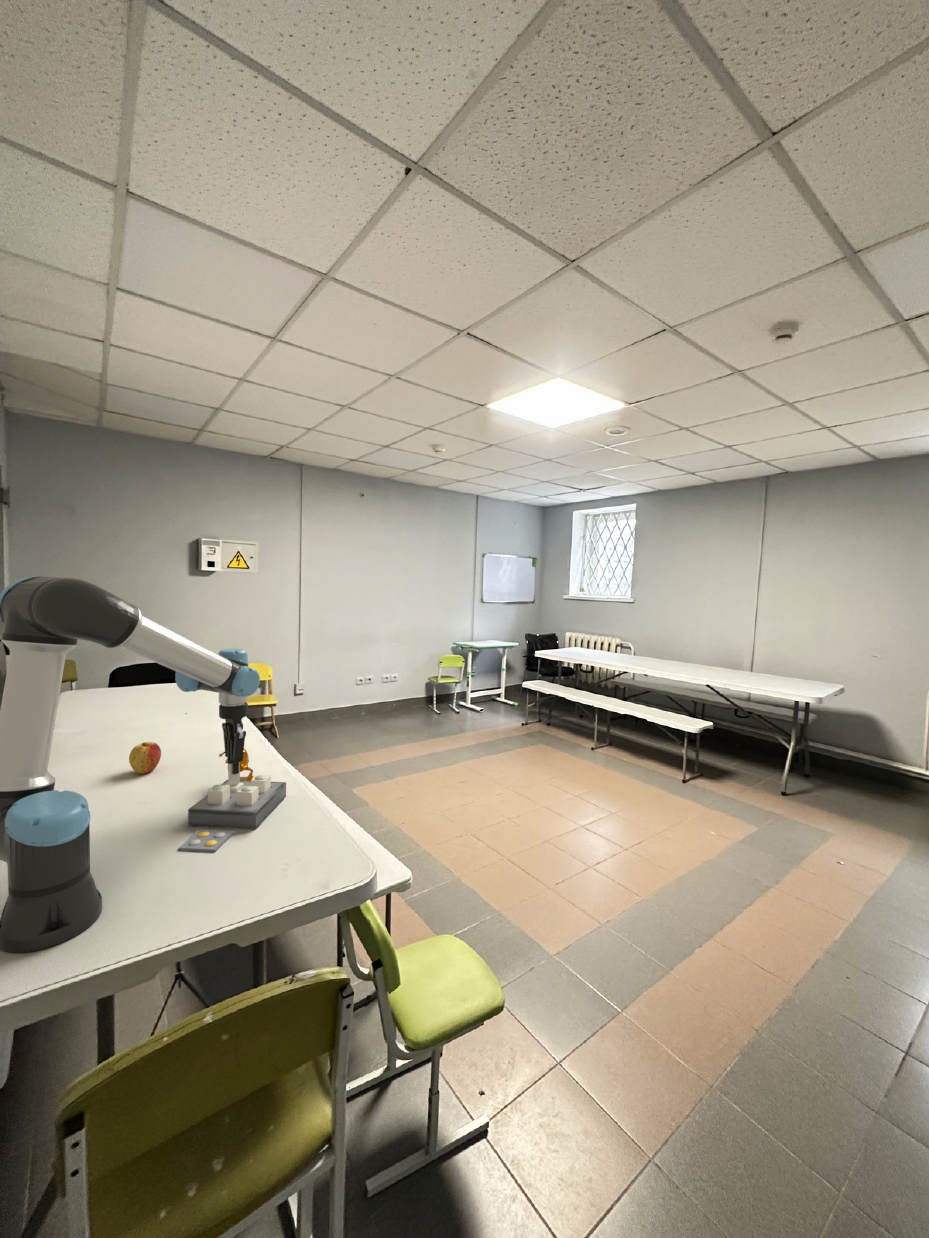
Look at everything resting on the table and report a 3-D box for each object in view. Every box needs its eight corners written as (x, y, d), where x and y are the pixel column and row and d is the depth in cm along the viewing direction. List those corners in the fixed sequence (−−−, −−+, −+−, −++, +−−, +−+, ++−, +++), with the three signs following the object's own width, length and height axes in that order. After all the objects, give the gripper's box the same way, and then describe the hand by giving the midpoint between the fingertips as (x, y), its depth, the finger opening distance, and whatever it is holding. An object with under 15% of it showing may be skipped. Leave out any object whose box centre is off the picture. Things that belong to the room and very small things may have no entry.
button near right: (251, 807, 134) (251, 791, 133) (237, 806, 134) (237, 790, 133) (258, 800, 138) (258, 785, 137) (244, 800, 138) (244, 784, 137)
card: (215, 851, 118) (215, 848, 118) (178, 850, 119) (178, 846, 119) (234, 833, 127) (234, 830, 127) (199, 831, 128) (199, 828, 128)
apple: (158, 775, 163) (157, 745, 162) (125, 778, 160) (125, 748, 159) (163, 765, 171) (163, 737, 171) (132, 768, 168) (132, 739, 167)
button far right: (264, 794, 142) (264, 779, 141) (250, 794, 142) (250, 779, 141) (270, 789, 146) (270, 774, 145) (257, 788, 146) (257, 774, 145)
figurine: (218, 783, 158) (218, 746, 157) (253, 775, 165) (253, 740, 164) (225, 792, 152) (225, 753, 151) (261, 784, 158) (262, 747, 158)
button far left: (237, 802, 142) (237, 787, 142) (223, 801, 142) (223, 786, 142) (243, 796, 146) (243, 781, 146) (230, 795, 146) (230, 781, 146)
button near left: (222, 806, 134) (222, 790, 134) (207, 805, 134) (207, 789, 134) (229, 799, 138) (229, 784, 138) (215, 799, 138) (215, 783, 138)
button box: (255, 829, 130) (255, 812, 129) (188, 826, 130) (188, 809, 130) (286, 796, 150) (286, 782, 149) (227, 794, 150) (227, 779, 150)
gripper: (255, 705, 140) (255, 787, 142) (239, 697, 149) (239, 773, 151) (227, 709, 135) (227, 794, 137) (212, 700, 144) (213, 779, 146)
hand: (234, 783), depth 144 cm, fingers closed
